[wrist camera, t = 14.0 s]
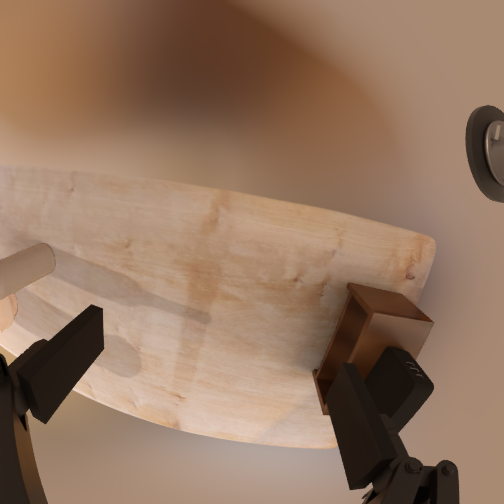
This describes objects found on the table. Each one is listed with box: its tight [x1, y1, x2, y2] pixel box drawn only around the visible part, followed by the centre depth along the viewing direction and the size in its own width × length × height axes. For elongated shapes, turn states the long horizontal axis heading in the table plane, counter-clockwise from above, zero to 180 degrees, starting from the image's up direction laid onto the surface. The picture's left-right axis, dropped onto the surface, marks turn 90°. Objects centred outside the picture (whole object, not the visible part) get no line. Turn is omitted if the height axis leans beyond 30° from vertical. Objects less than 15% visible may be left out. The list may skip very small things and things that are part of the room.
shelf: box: [312, 283, 434, 415], centre depth 43 cm, size 20×12×12 cm, turn 167°
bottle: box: [0, 243, 55, 300], centre depth 32 cm, size 7×7×28 cm
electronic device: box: [364, 346, 434, 433], centre depth 32 cm, size 4×10×10 cm, turn 159°
